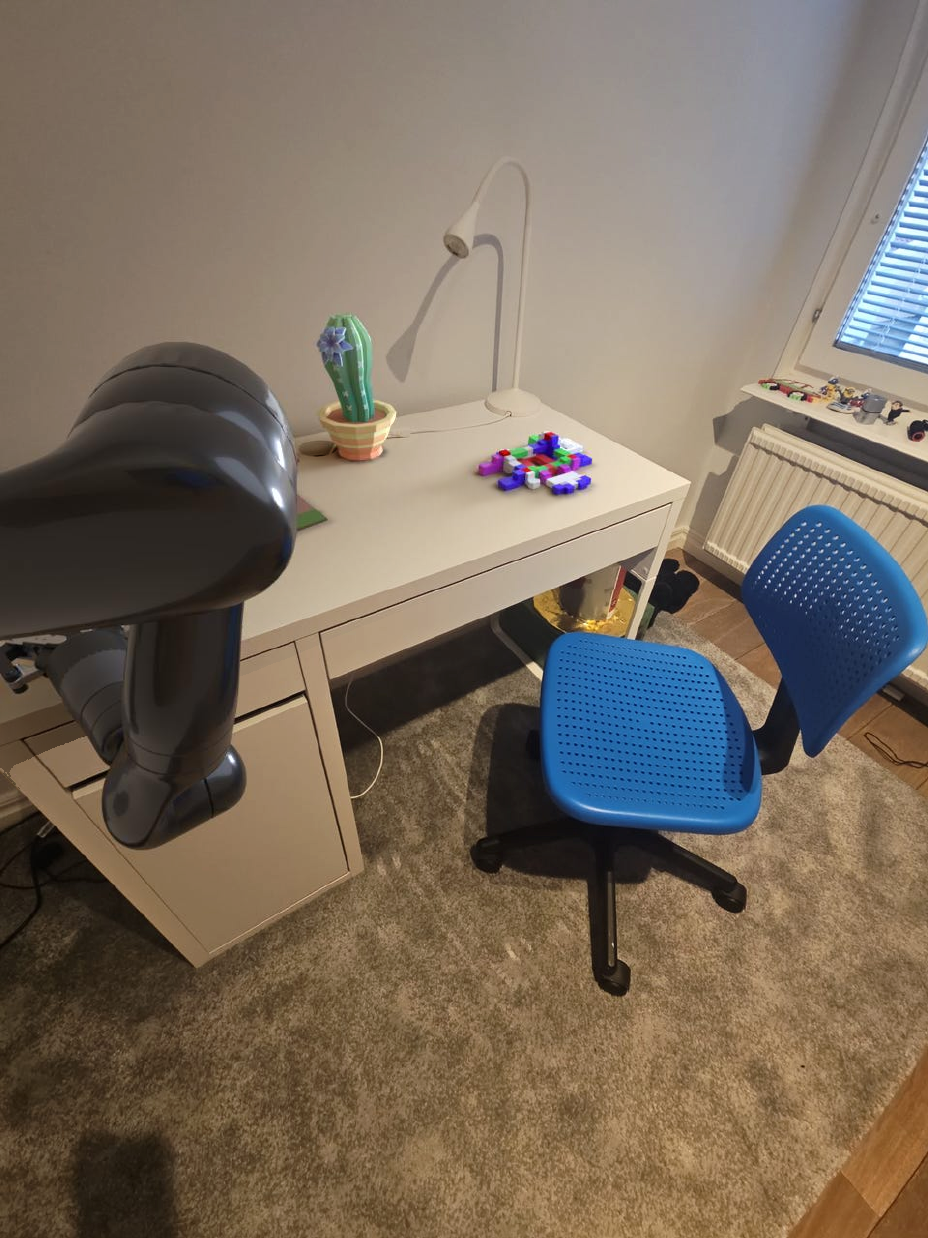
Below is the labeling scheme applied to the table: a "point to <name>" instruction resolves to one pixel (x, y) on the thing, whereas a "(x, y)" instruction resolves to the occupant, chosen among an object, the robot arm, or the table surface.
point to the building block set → (544, 454)
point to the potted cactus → (352, 391)
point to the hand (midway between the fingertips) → (54, 608)
